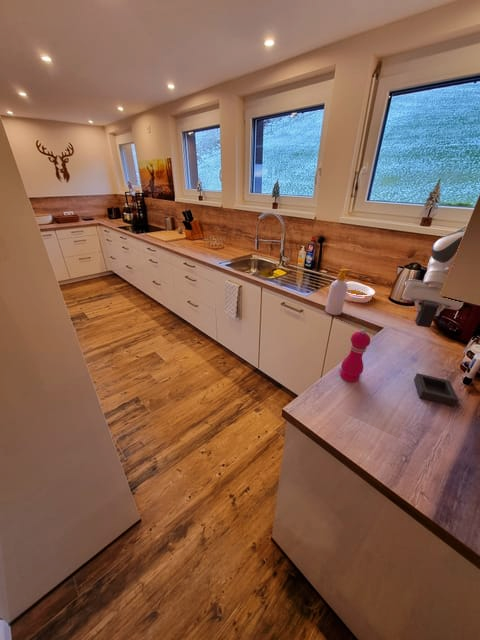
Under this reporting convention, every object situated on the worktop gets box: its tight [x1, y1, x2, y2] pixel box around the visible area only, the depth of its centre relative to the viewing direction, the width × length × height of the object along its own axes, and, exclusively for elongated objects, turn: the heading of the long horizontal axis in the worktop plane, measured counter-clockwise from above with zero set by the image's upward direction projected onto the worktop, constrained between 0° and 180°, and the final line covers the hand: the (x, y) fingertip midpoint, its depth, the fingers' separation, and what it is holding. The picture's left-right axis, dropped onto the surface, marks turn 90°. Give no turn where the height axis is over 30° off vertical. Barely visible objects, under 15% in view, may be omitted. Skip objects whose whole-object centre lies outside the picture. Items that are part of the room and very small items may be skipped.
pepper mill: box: [340, 328, 371, 383], centre depth 91 cm, size 7×7×20 cm
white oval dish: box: [345, 280, 376, 303], centre depth 162 cm, size 29×22×5 cm
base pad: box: [413, 372, 459, 408], centre depth 89 cm, size 10×10×3 cm
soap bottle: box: [324, 268, 354, 316], centre depth 137 cm, size 9×9×24 cm
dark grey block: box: [414, 300, 440, 329], centre depth 106 cm, size 5×5×10 cm
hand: (427, 313), depth 105 cm, fingers closed on dark grey block, 5 cm apart
